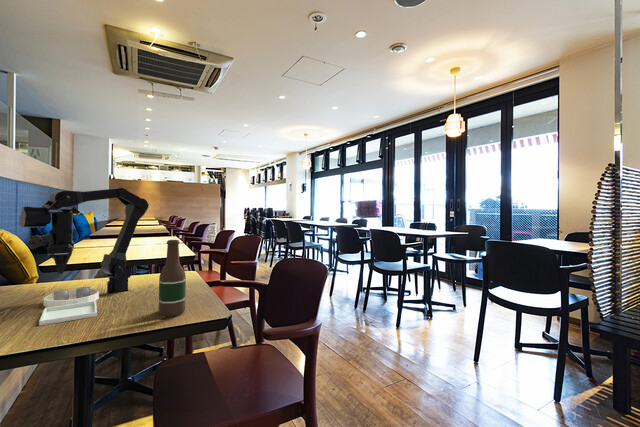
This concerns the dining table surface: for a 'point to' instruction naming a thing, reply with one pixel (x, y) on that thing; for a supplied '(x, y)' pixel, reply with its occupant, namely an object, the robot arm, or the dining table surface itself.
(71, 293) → the bowl
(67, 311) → the tray
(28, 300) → the dining table surface
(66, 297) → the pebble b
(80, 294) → the grey rounded cylinder
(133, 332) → the dining table surface
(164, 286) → the beer bottle
